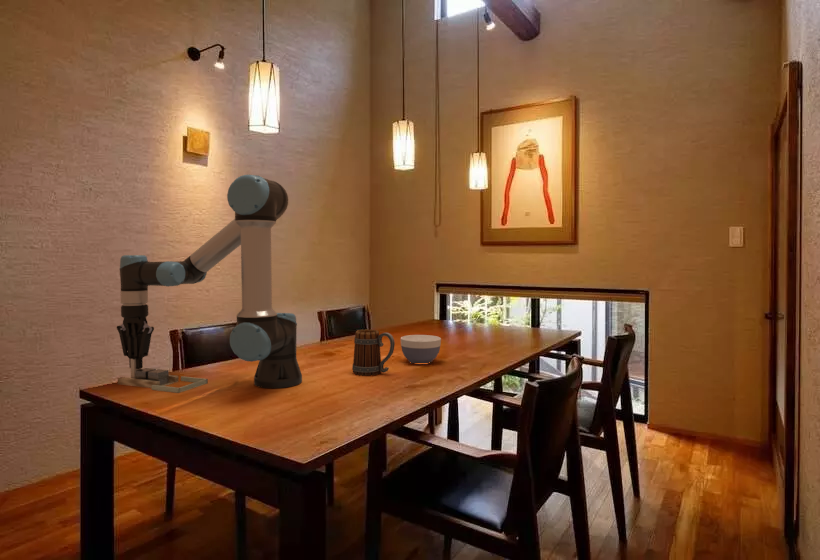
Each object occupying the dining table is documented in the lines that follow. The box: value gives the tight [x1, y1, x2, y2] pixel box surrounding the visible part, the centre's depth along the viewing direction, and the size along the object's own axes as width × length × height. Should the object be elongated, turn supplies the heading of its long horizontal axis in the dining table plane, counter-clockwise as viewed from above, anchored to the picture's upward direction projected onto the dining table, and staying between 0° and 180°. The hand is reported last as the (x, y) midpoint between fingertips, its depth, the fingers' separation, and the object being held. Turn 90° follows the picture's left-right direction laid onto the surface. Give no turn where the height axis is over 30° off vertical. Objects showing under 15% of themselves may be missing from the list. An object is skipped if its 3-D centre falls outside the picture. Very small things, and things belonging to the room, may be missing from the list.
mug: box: [351, 329, 396, 377], centre depth 177 cm, size 16×11×15 cm
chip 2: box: [148, 368, 170, 385], centre depth 154 cm, size 4×4×4 cm
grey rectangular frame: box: [151, 376, 209, 394], centre depth 152 cm, size 10×12×3 cm
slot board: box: [117, 374, 180, 389], centre depth 156 cm, size 15×9×3 cm, turn 71°
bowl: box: [400, 334, 442, 364], centre depth 196 cm, size 16×16×10 cm
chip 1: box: [136, 367, 157, 380], centre depth 156 cm, size 4×4×4 cm
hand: (136, 378), depth 157 cm, fingers closed
